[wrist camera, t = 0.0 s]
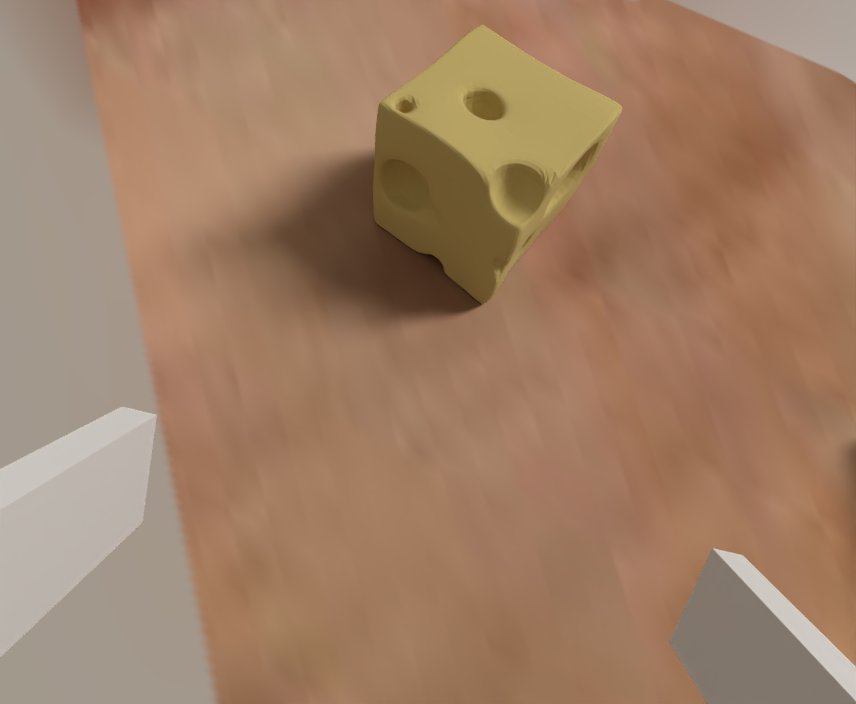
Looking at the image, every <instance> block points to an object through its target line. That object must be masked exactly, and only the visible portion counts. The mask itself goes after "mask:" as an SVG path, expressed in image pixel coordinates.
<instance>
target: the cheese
mask: <svg viewBox="0 0 856 704" xmlns="http://www.w3.org/2000/svg"><path fill="white" fill-rule="evenodd" d="M621 111H622V107H621V105H619V104H618V103H616V102H615V101H613V100H611V99H609V98H608V97H606V96H604V95H602V94H600V93H598V92H596V91H594V90H592V89H590V88H588V87H585V86H583V85H581V84H579V83H577V82H575V81H573V80H571V79H569V78H567V77H565V76H564V75H562V74H560V73H558V72H557V71H555V70H553V69H551V68H550V67H548V66H546V65H545V64H543V63H541V62H539V61H538V60H536V59H534V58H533V57H531V56H530V55H528V54H527V53H525V52H524V51H522V50H520V49H519V48H517V47H516V46H514V45H513V44H511V43H510V42H508V41H507V40H505V39H504V38H502V37H501V36H499V35H498V34H496V33H495V32H493V31H492V30H490V29H489V28H487V27H486V26H485V25H480V26H478V27H477V28H475V29H474V30H472V31H471V32H469V33H468V34H467V35H465V36H464V37H463V38H462V39H460V40H459V41H458V42H457V43H456V44H455V45H454V46H453V47H452V48H450V49H449V50H448V51H447V52H446V53H445V54H444V55H443V56H441V57H440V58H439V59H438V60H437V61H436V62H434V63H433V64H432V65H431V66H430V67H428V68H427V69H426V70H425V71H423V72H422V73H421V74H419V75H418V76H417V77H415V78H414V79H413V80H411V81H410V82H408V83H407V84H405V85H404V86H403V87H401V88H400V89H398V90H396V91H395V92H393V93H392V94H391V95H389V96H388V97H386V98H385V99H383V100H382V101H381V102H380V104H379V107H378V115H377V123H376V134H375V163H374V176H373V209H374V220H375V222H376V223H377V224H378V225H379V226H381V227H382V228H384V229H385V230H386V231H388V232H389V233H390V234H392V235H393V236H395V237H396V238H397V239H399V240H400V241H402V242H403V243H405V244H406V245H407V246H409V247H410V248H412V249H413V250H415V251H416V252H419V253H423V254H426V255H427V254H431V255H433V256H435V257H436V258H438V259H439V260H440V261H441V263H442V264H443V267H444V272H445V274H446V275H447V276H448V277H450V278H451V279H452V280H453V281H454V282H456V283H457V284H458V285H459V286H461V287H462V288H463V289H464V290H466V291H467V292H468V293H469V294H470V295H471V296H472V297H473V298H475V299H476V300H477V301H478V302H480V303H481V304H484V303H486V302H487V301H488V300H489V299H490V298H491V297H492V296H493V295H494V294H495V293H496V291H497V290H498V289H499V287H500V285H501V284H502V282H503V280H504V278H505V277H506V275H507V273H508V271H509V270H510V269H511V268H512V266H513V265H514V264H515V263H516V262H517V261H518V259H519V258H520V257H521V256H522V255H523V253H524V252H525V251H526V250H527V249H528V247H529V246H530V245H531V244H532V243H533V242H534V240H535V239H536V238H537V237H538V236H539V235H540V233H541V232H542V231H543V230H544V229H545V228H546V227H547V225H548V224H549V223H550V222H551V221H552V220H553V219H554V217H555V216H556V215H557V214H558V213H559V212H560V211H561V209H562V208H563V207H564V206H565V204H566V203H567V202H568V200H569V199H570V198H571V196H572V195H573V193H574V192H575V191H576V189H577V188H578V186H579V185H580V183H581V182H582V180H583V179H584V177H585V176H586V174H587V173H588V171H589V170H590V168H591V167H592V165H593V164H594V162H595V160H596V159H597V157H598V155H599V153H600V152H601V150H602V148H603V146H604V144H605V142H606V140H607V139H608V137H609V135H610V133H611V131H612V129H613V127H614V125H615V123H616V121H617V119H618V117H619V115H620V113H621Z"/></svg>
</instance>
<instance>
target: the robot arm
mask: <svg viewBox="0 0 856 704" xmlns="http://www.w3.org/2000/svg"><path fill="white" fill-rule="evenodd" d="M156 417H157V415H155V414H151V413H147V412H143V411H138V410H134V409H130V408H126V407H120V408H118V409H116V410H114V411H113V412H111V413H109V414H107V415H105V416H103V417H101V418H99V419H97V420H95V421H93V422H91V423H89V424H87V425H85V426H83V427H81V428H80V429H77V430H75V431H74V432H72V433H70V434H68V435H66V436H64V437H62V438H60V439H58V440H56V441H54V442H52V443H50V444H48V445H46V446H44V447H42V448H40V449H38V450H36V451H35V452H32V453H31V454H29V455H27V456H25V457H23V458H21V459H19V460H17V461H15V462H13V463H11V464H9V465H7V466H5V467H3V468H1V469H0V657H1V656H2V655H3V654H4V653H5V652H6V651H7V650H8V649H10V648H11V647H12V646H13V645H14V644H15V643H16V642H17V641H18V640H19V639H20V638H21V637H22V636H23V635H24V634H25V633H26V632H27V631H28V630H30V629H31V628H32V627H33V626H34V625H35V624H36V623H37V622H38V621H39V620H40V619H41V618H42V617H43V616H44V615H45V614H46V613H48V611H50V609H52V608H53V607H54V606H55V605H56V604H57V603H58V602H59V601H60V600H61V599H62V598H63V597H64V596H65V595H66V594H68V593H69V592H70V591H71V590H72V589H73V588H74V587H75V586H76V585H77V584H78V583H79V582H80V581H81V580H82V579H83V578H84V577H85V576H86V575H88V574H89V573H90V572H91V571H92V570H93V569H94V568H95V567H96V566H97V565H98V564H99V563H100V562H101V561H102V560H103V559H104V558H105V557H106V556H108V555H109V553H111V552H112V551H113V550H114V548H116V547H117V546H118V545H119V544H120V543H121V542H122V541H123V540H124V539H125V538H126V537H128V536H129V535H130V534H131V533H132V532H133V531H134V530H135V529H136V528H137V527H138V526H139V525H140V524H141V523H142V522H143V516H144V508H145V501H146V493H147V486H148V478H149V470H150V463H151V455H152V447H153V440H154V432H155V425H156ZM670 644H671V646H672V647H673V649H674V650H675V652H676V654H677V655H678V657H679V659H680V660H681V662H682V664H683V665H684V667H685V669H686V670H687V672H688V674H689V675H690V677H691V679H692V680H693V682H694V684H695V685H696V687H697V689H698V690H699V692H700V693H701V695H702V697H703V698H704V700H705V702H706V703H707V704H856V667H855V666H854V665H853V664H852V663H851V662H850V661H849V660H848V659H847V658H846V657H845V656H844V655H843V654H842V653H841V652H840V651H839V650H838V649H837V648H836V647H835V646H834V645H833V644H832V643H831V642H830V641H829V640H828V639H827V638H826V637H825V636H824V635H823V634H822V633H821V632H820V631H819V630H818V629H817V628H816V627H815V626H814V625H813V624H812V623H811V622H810V621H809V620H808V619H807V618H806V617H805V616H804V615H803V614H802V613H801V612H800V611H799V610H798V609H797V608H796V607H795V606H794V605H793V604H791V603H790V602H789V601H788V600H787V599H786V598H785V597H784V596H783V595H782V594H781V593H780V592H779V591H778V590H777V589H776V588H775V587H774V586H773V585H772V584H771V583H770V582H769V581H768V580H767V579H766V578H765V577H764V576H763V575H762V574H761V573H760V572H759V571H758V570H757V569H756V568H755V567H754V566H753V565H752V564H751V563H750V562H749V561H748V560H747V559H746V558H745V557H744V556H743V555H739V554H735V553H731V552H726V551H722V550H718V549H714V548H712V550H711V552H710V555H709V557H708V559H707V561H706V563H705V565H704V568H703V570H702V572H701V574H700V576H699V579H698V581H697V583H696V585H695V587H694V589H693V592H692V594H691V596H690V598H689V600H688V603H687V605H686V607H685V609H684V611H683V613H682V616H681V618H680V620H679V622H678V624H677V627H676V629H675V631H674V633H673V635H672V637H671V640H670Z"/></svg>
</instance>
